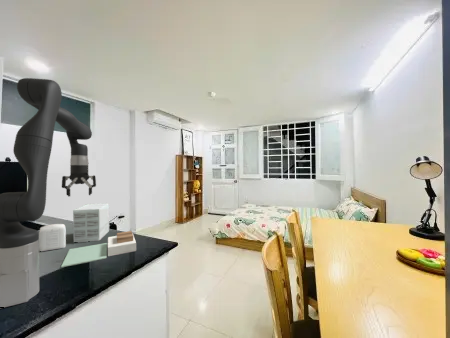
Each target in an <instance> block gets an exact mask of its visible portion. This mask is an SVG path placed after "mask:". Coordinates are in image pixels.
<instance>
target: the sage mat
mask: <svg viewBox="0 0 450 338" xmlns="http://www.w3.org/2000/svg"><path fill="white" fill-rule="evenodd" d="M107 257H108V242H105V243H98V244H93V245H86V246H80V247H74V248H69V249H68V251H67V253H66V255H65V258H64V259H63V262H62V264H61V266H60V267H61V268H65V267H70V266H76V265H80V264H86V263H90V262H96V261H101V260H104V259H107Z"/></svg>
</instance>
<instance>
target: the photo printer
mask: <svg viewBox="0 0 450 338" xmlns="http://www.w3.org/2000/svg"><path fill="white" fill-rule="evenodd" d="M66 228H67V227H66V225H65V224H63V223H53V224H48V225H43V226H41V227H40V228H39V231H38V233H39V252H40V251H41V252H46V251H53V250H59V249H63V248H66V245H67V241H66V240H67V238H66V237H67V231H66V230H67V229H66Z"/></svg>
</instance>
